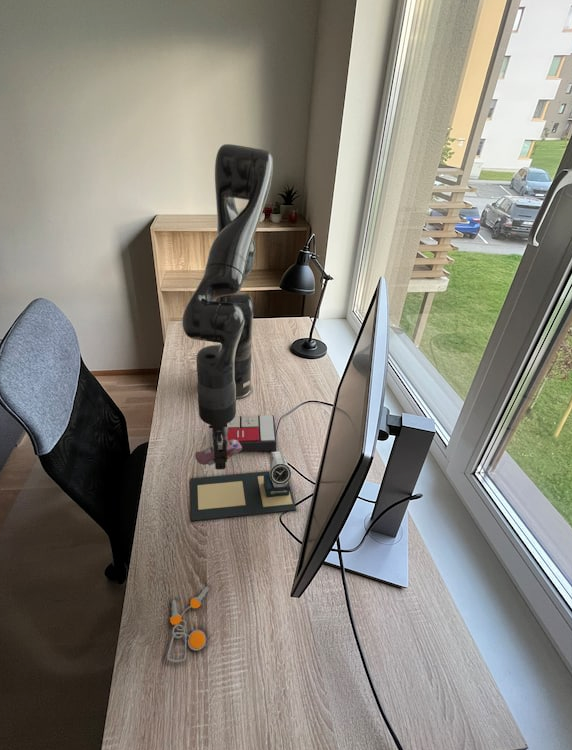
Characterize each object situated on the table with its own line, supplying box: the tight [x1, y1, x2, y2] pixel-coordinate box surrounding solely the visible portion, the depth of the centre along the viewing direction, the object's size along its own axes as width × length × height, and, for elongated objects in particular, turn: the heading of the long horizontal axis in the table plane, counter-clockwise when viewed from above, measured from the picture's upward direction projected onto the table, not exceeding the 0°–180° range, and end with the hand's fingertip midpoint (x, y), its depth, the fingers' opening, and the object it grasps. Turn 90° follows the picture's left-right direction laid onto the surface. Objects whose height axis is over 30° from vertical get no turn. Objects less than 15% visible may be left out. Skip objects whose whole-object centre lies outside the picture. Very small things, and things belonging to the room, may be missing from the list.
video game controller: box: [194, 439, 242, 466], centre depth 87 cm, size 10×5×7 cm, turn 117°
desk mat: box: [190, 470, 297, 522], centre depth 96 cm, size 12×24×1 cm, turn 97°
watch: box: [263, 450, 293, 497], centre depth 94 cm, size 6×8×11 cm
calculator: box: [223, 414, 277, 452], centre depth 111 cm, size 11×4×15 cm
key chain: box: [166, 586, 210, 664], centre depth 73 cm, size 13×7×1 cm, turn 178°
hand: (219, 454), depth 88 cm, fingers closed on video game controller, 7 cm apart
